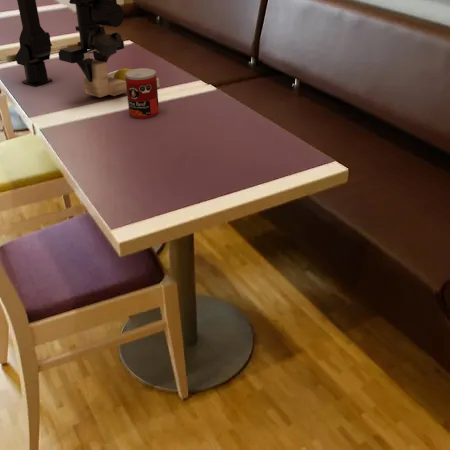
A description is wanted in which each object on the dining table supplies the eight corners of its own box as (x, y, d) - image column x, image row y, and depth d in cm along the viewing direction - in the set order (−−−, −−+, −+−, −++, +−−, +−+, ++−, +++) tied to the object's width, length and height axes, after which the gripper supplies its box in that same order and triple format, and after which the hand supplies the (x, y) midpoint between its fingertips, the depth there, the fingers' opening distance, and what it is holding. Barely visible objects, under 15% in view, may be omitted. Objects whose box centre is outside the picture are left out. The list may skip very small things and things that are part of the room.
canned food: (123, 116, 160) (119, 75, 155) (140, 106, 166) (137, 66, 161) (147, 121, 157) (144, 79, 152) (164, 110, 163) (161, 70, 158)
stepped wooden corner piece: (80, 91, 174) (77, 59, 169) (103, 85, 180) (100, 54, 175) (104, 98, 169) (101, 66, 164) (127, 91, 174) (125, 60, 170)
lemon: (117, 94, 177) (137, 88, 183) (123, 80, 174) (143, 74, 179) (105, 81, 178) (125, 75, 184) (111, 67, 175) (131, 61, 180)
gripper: (81, 33, 152) (89, 94, 160) (135, 19, 164) (140, 76, 172) (53, 27, 158) (62, 86, 166) (107, 14, 170) (113, 70, 178)
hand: (96, 80), depth 171 cm, fingers closed on stepped wooden corner piece, 4 cm apart
